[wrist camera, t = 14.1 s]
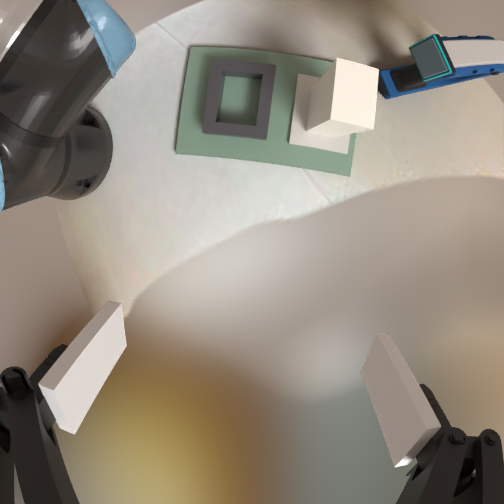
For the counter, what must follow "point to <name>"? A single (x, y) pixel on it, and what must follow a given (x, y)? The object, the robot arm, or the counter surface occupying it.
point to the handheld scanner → (443, 64)
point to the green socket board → (256, 110)
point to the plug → (343, 99)
